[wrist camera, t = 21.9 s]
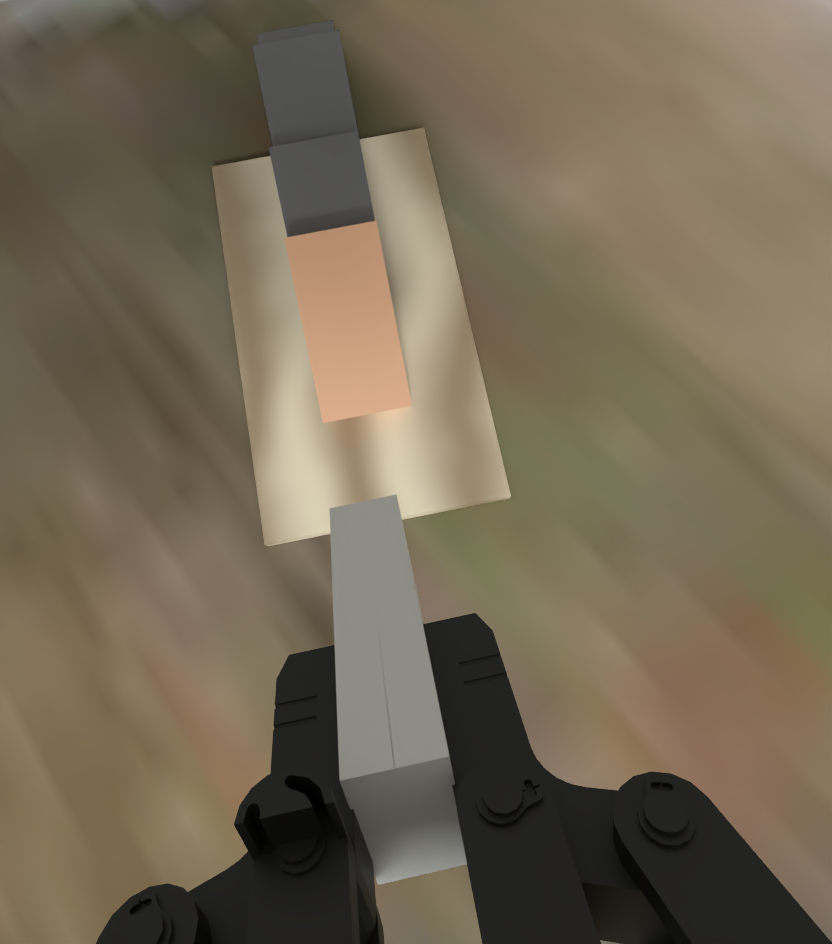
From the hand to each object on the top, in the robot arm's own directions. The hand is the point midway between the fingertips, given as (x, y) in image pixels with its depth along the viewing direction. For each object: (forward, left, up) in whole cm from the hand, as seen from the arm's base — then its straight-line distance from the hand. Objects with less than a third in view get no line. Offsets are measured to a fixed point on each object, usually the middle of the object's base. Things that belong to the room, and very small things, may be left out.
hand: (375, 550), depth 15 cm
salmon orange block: (0, +10, -20) cm, 23 cm away
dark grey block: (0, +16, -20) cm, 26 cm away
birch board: (0, +17, -22) cm, 27 cm away
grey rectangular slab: (0, +23, -20) cm, 30 cm away
